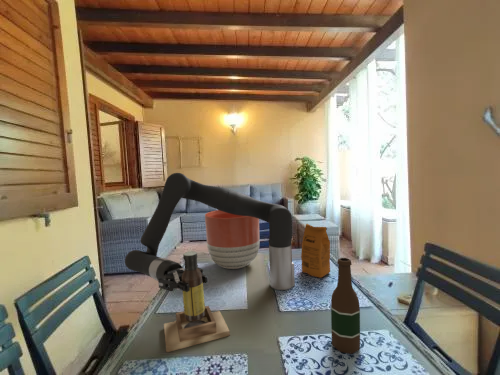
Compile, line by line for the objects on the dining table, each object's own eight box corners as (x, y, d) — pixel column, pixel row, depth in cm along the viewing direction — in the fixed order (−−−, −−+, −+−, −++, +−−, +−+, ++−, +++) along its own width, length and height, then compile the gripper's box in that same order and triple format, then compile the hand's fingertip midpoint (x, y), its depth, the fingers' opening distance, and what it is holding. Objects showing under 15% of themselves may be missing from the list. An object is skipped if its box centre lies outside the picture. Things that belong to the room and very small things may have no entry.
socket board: (219, 315, 91) (219, 302, 90) (229, 335, 80) (229, 320, 79) (164, 328, 85) (163, 314, 84) (166, 352, 73) (165, 336, 73)
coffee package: (311, 266, 131) (310, 221, 129) (333, 273, 121) (332, 225, 119) (297, 271, 125) (296, 225, 123) (319, 279, 115) (318, 229, 113)
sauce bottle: (206, 310, 85) (203, 249, 83) (203, 322, 79) (200, 256, 77) (185, 311, 85) (182, 250, 83) (181, 323, 79) (178, 257, 77)
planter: (270, 261, 139) (268, 210, 137) (241, 281, 117) (238, 220, 115) (229, 254, 154) (226, 207, 152) (196, 270, 131) (193, 215, 129)
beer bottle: (326, 337, 77) (324, 255, 75) (352, 334, 78) (351, 253, 76) (337, 356, 69) (336, 265, 67) (366, 353, 70) (365, 263, 68)
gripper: (144, 266, 84) (176, 280, 73) (182, 254, 95) (215, 264, 85) (146, 289, 85) (178, 306, 74) (183, 274, 96) (216, 287, 85)
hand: (197, 283), depth 79 cm, fingers closed on sauce bottle, 6 cm apart
